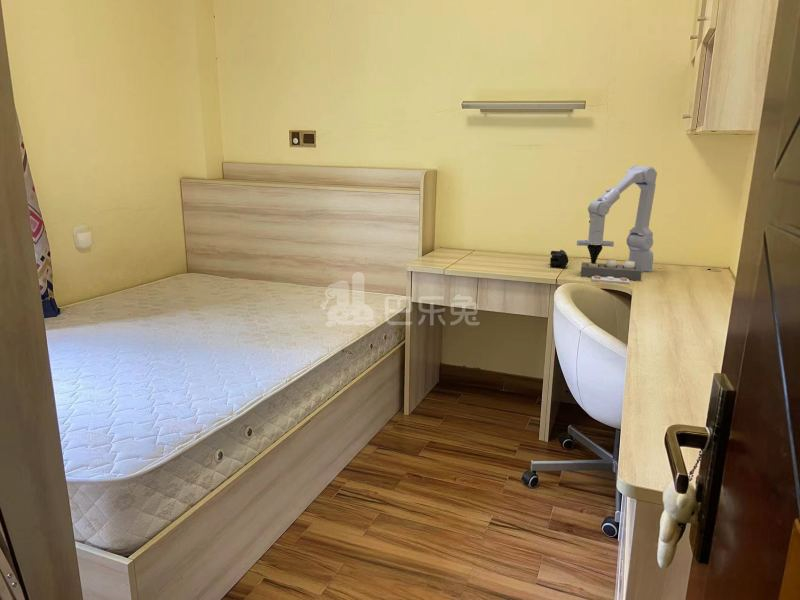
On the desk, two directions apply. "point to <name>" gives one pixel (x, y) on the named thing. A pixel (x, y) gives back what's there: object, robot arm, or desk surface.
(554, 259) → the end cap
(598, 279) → the pattern card
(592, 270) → the grey slotted tray
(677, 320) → the desk surface
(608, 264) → the button
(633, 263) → the button
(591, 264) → the button
